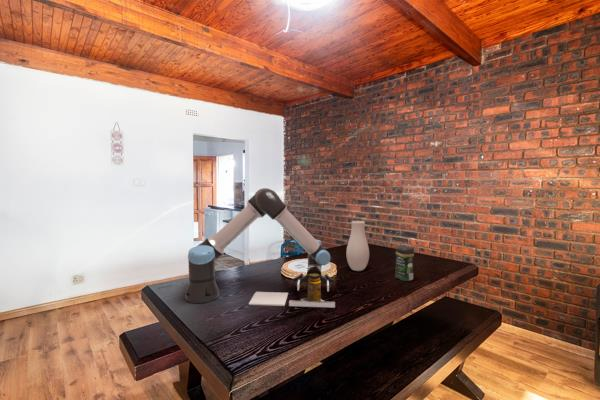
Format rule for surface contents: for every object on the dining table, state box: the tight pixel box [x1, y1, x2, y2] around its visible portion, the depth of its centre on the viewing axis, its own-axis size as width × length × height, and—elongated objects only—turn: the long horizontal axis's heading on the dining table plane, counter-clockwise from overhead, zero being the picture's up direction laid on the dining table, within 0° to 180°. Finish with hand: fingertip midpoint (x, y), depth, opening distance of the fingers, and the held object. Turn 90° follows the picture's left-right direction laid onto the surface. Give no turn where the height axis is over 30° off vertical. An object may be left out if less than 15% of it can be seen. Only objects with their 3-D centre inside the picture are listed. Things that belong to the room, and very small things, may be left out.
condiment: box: [300, 273, 325, 301], centre depth 137 cm, size 7×8×12 cm
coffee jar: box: [394, 245, 415, 282], centre depth 166 cm, size 10×8×19 cm
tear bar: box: [288, 299, 336, 308], centre depth 131 cm, size 20×2×2 cm, turn 86°
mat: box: [248, 291, 289, 307], centre depth 139 cm, size 16×14×1 cm
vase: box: [345, 220, 370, 272], centre depth 183 cm, size 14×14×30 cm
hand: (313, 287), depth 135 cm, fingers open, 13 cm apart
